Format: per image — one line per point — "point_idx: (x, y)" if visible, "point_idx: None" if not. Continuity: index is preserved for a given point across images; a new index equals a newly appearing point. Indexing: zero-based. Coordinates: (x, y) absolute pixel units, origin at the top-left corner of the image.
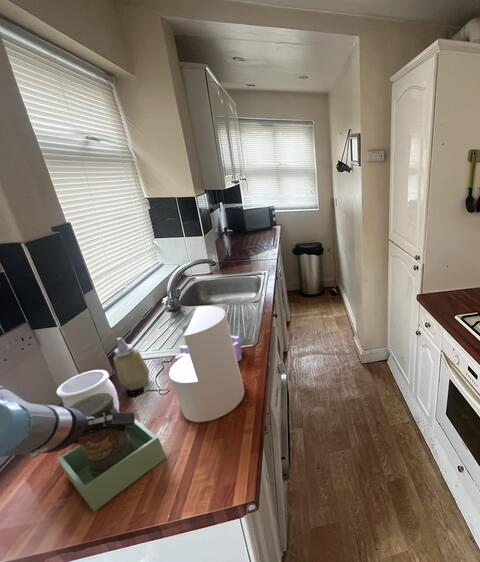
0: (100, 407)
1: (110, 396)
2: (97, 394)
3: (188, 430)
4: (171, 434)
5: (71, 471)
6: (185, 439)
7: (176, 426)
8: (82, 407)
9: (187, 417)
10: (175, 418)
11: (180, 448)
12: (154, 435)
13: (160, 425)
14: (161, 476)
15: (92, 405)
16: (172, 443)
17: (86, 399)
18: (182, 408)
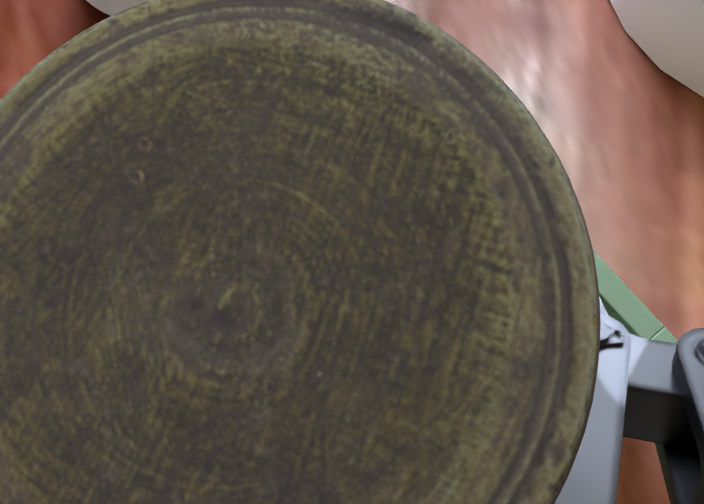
0: (500, 463)
1: (545, 158)
2: (266, 7)
3: (687, 164)
4: (585, 163)
5: None
6: (688, 235)
7: (598, 103)
8: (157, 323)
9: (671, 61)
10: (571, 30)
11: (677, 300)
12: (647, 316)
13: (492, 62)
14: (623, 475)
15: (313, 326)
16: (614, 241)
17: (134, 102)
18: (676, 5)
